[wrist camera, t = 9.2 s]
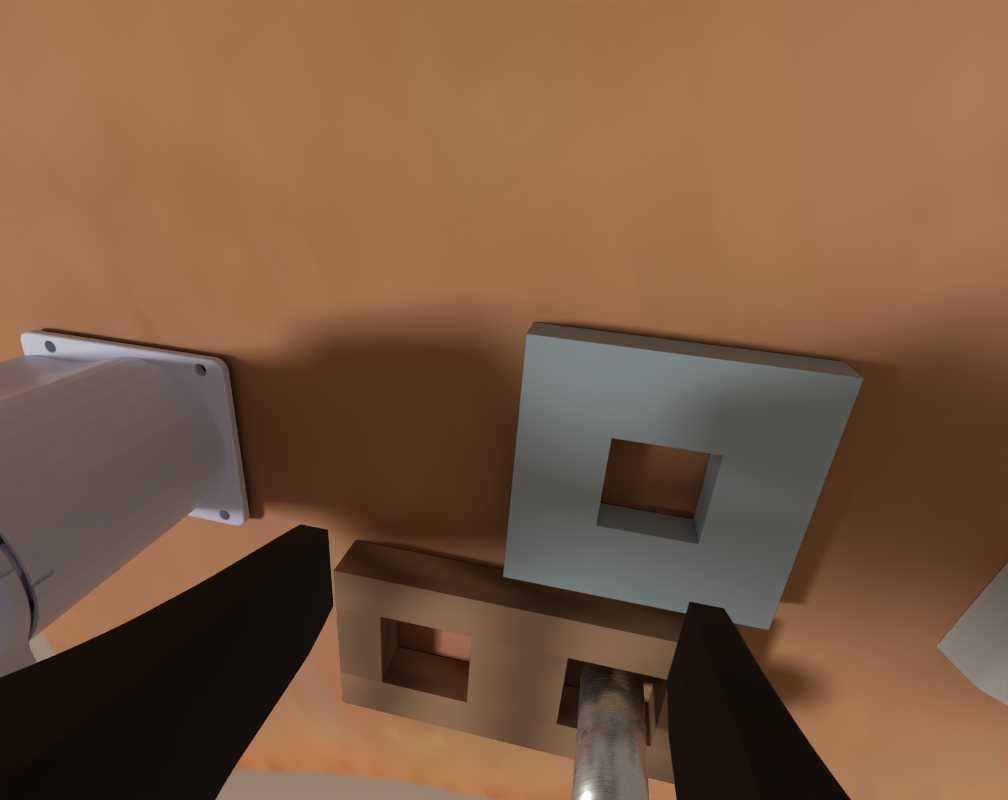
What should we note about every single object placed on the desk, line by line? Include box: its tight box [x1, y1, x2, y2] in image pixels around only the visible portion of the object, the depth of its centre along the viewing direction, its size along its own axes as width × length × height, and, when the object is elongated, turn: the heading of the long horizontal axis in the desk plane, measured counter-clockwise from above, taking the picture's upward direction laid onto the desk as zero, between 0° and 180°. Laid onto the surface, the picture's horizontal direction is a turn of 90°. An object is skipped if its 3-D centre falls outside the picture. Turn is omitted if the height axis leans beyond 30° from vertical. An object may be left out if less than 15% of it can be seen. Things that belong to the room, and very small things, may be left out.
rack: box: [334, 540, 686, 784], centre depth 23 cm, size 16×8×2 cm, turn 85°
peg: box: [572, 661, 649, 800], centre depth 20 cm, size 3×3×7 cm
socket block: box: [503, 322, 864, 630], centre depth 19 cm, size 10×10×2 cm
